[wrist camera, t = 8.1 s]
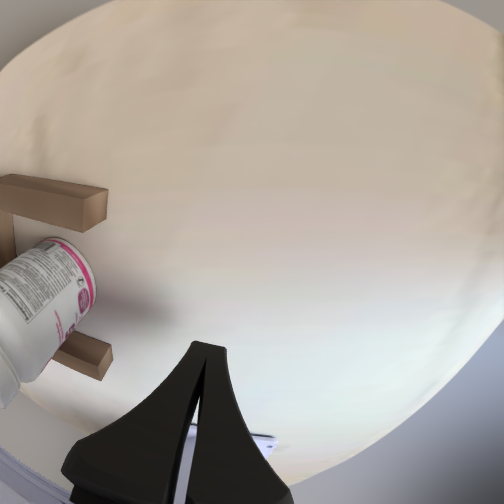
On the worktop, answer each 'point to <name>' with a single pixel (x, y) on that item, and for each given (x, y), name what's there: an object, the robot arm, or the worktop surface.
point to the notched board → (67, 216)
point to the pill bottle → (40, 309)
